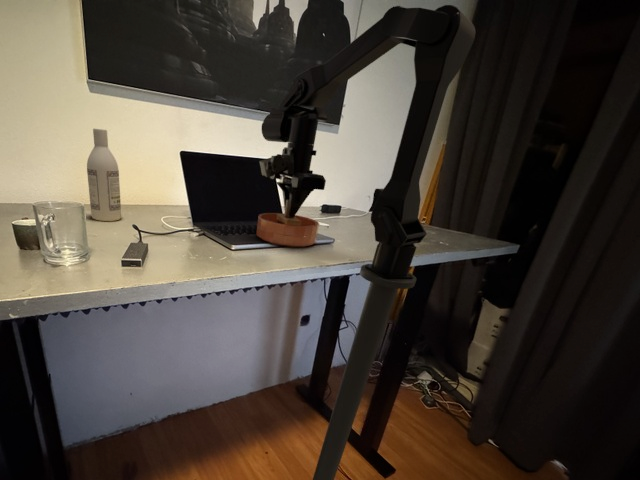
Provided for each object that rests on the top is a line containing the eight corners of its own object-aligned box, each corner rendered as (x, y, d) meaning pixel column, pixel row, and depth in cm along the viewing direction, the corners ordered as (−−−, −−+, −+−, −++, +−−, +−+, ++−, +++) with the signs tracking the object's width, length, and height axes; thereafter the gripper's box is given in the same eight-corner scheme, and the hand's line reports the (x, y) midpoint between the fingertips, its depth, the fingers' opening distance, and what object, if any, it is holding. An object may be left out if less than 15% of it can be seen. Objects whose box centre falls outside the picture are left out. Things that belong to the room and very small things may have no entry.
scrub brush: (299, 231, 76) (305, 203, 74) (285, 230, 75) (290, 202, 73) (288, 224, 83) (293, 198, 80) (275, 223, 82) (279, 197, 79)
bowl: (325, 249, 76) (330, 227, 74) (266, 247, 72) (269, 225, 70) (300, 233, 89) (304, 214, 86) (249, 230, 85) (251, 211, 83)
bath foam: (122, 216, 86) (117, 131, 77) (120, 222, 80) (114, 130, 71) (93, 214, 84) (85, 127, 75) (89, 220, 78) (80, 126, 69)
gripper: (254, 139, 77) (247, 206, 84) (281, 140, 61) (269, 222, 68) (297, 144, 80) (287, 208, 87) (334, 146, 64) (318, 225, 71)
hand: (289, 215), depth 78 cm, fingers closed on scrub brush, 2 cm apart
